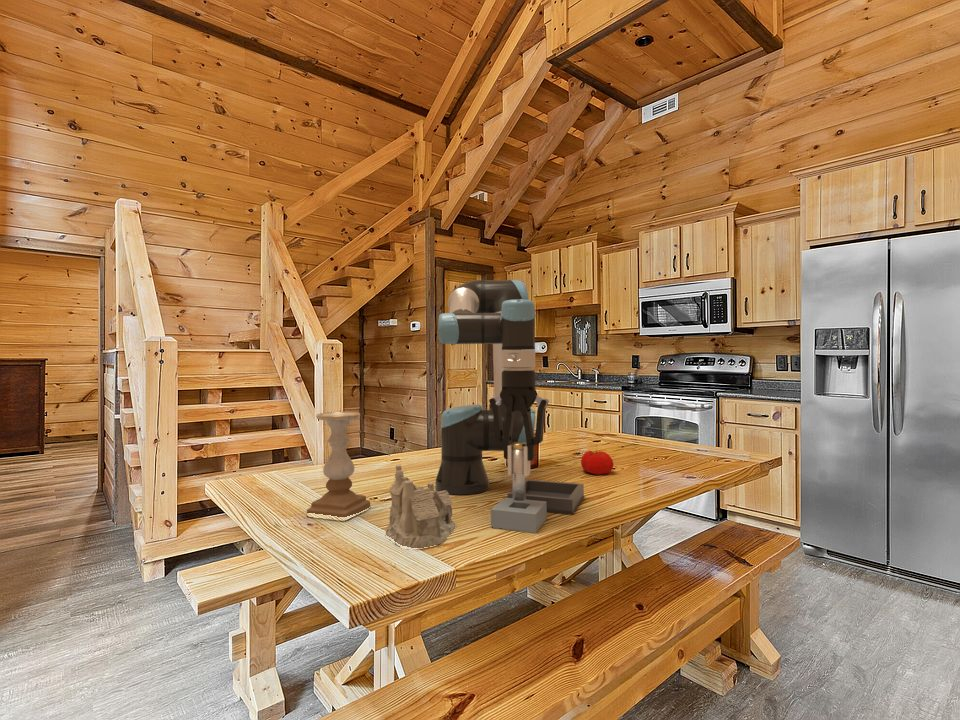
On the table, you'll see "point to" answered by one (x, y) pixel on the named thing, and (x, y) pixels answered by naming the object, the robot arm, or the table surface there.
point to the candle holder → (339, 471)
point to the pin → (518, 471)
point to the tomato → (597, 462)
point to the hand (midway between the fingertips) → (519, 474)
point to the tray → (555, 495)
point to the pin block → (519, 515)
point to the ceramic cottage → (418, 514)
